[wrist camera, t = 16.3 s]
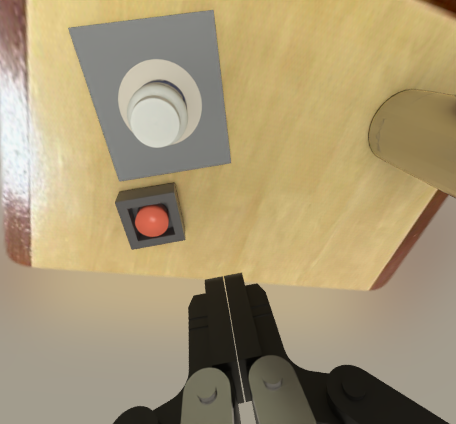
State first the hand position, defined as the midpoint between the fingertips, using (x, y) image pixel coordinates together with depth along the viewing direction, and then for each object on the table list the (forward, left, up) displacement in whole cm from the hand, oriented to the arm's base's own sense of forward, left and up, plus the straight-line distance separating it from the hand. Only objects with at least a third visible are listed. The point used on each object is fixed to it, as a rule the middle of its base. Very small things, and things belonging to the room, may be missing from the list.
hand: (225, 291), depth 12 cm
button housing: (+7, +9, -26) cm, 29 cm away
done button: (+7, +9, -25) cm, 27 cm away
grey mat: (+3, -4, -26) cm, 27 cm away
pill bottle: (+3, -4, -26) cm, 26 cm away
